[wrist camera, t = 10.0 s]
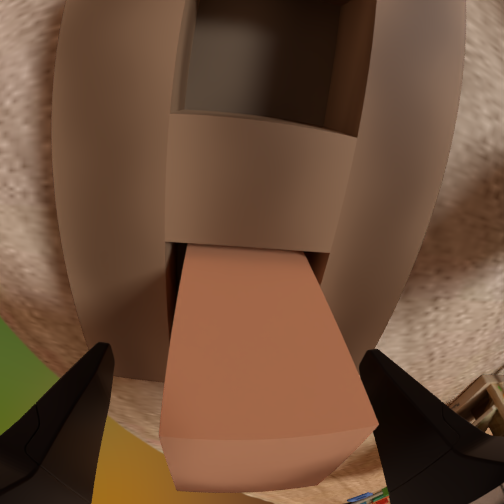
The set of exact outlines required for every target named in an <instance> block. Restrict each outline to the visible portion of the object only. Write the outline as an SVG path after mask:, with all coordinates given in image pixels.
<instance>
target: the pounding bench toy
mask: <svg viewBox="0 0 504 504" xmlns="http://www.w3.org/2000/svg"><path fill="white" fill-rule="evenodd" d="M449 408H451V409H452V410H453V411H454V412H456V413H457V414H458V415H460V416H461V417H463V418H464V419H465V420H467V421H468V422H470V423H472V422H473V421H474V420H476V421H474V422H473V423H472V424H473V425H474V426H475V425H476V427H477V428H479V429H480V430H482V431H483V432H485V431H486V430H487V428H488V427H489V428H490V430H491V432H492V434H493V436H498V437H504V375H481V376H480V377H479V378H478V379H477V380H476V381H475V382H474V383H473V384H472V385H471V386H470V387H469V388H468V389H467V390H466V391H465V392H464V393H463V394H462V395H461V396H460V397H459V398H458V399H457V400H455V401H454V402H453V403H452V404H451V405H450V406H449Z"/></svg>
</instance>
